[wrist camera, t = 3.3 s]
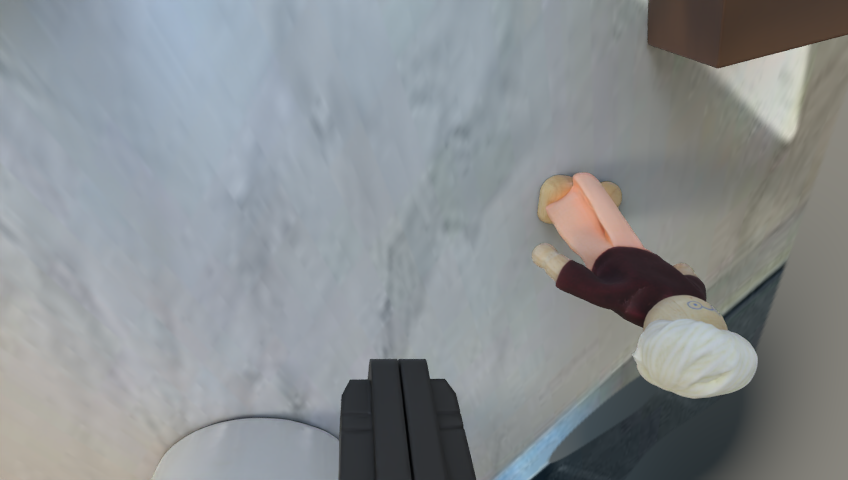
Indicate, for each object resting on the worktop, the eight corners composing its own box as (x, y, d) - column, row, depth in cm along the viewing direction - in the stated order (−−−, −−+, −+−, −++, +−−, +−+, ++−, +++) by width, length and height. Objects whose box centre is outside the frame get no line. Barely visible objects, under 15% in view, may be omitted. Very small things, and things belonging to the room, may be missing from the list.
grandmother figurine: (646, 164, 25) (868, 331, 14) (627, 229, 27) (809, 419, 16) (500, 165, 24) (620, 345, 13) (491, 233, 26) (589, 437, 15)
